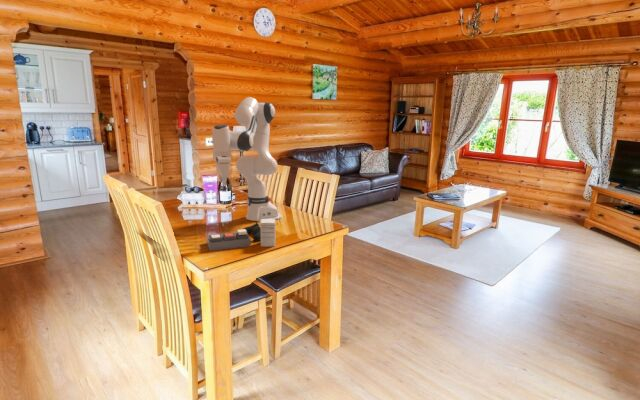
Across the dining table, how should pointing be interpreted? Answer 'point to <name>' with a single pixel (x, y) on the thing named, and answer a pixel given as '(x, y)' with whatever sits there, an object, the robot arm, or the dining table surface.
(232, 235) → the red button
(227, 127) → the robot arm
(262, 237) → the supplement box
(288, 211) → the dining table surface
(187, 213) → the dining table surface
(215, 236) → the button
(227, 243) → the button box
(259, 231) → the gaming controller
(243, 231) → the button
